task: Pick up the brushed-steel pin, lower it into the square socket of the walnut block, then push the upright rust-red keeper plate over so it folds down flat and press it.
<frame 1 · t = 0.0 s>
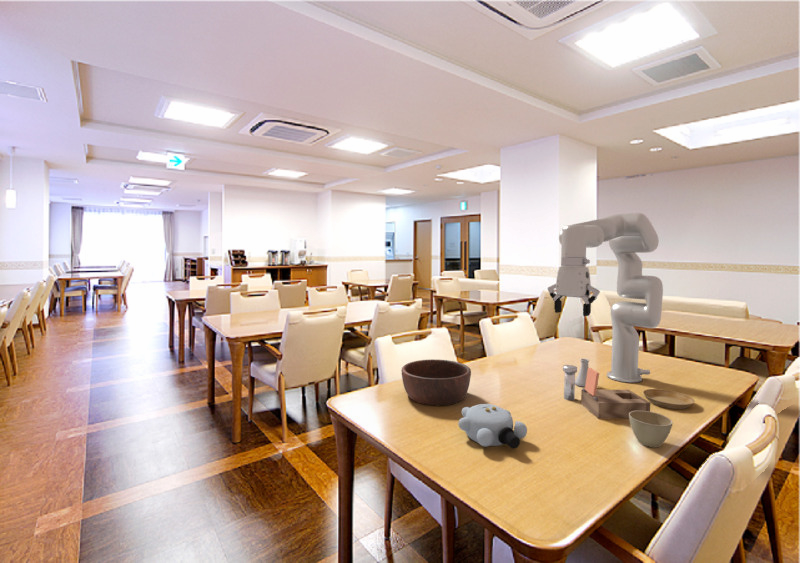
hand: (571, 314, 133), 31 cm above the table, tool pointing down, fingers open, 9 cm apart
block: (613, 410, 130), on the table
figurine: (491, 439, 112), on the table
beige bowl: (649, 443, 108), on the table
plant saucer: (667, 404, 137), on the table
keeper: (591, 381, 129), point 10 cm above the table, hinge at 97.0°
pin: (569, 398, 141), on the table
flask: (584, 385, 156), on the table
wooden bowl: (435, 396, 145), on the table
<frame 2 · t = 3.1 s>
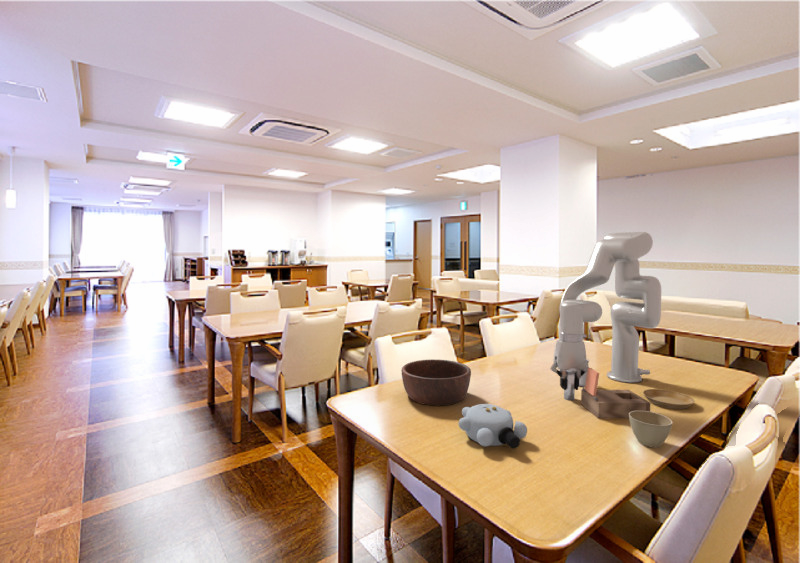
hand: (569, 388, 141), 4 cm above the table, tool pointing down, fingers closed on pin, 3 cm apart
pin: (569, 398, 141), on the table, touching gripper
everything else where it was.
when the fingers open (6 cm above the table, at t = 8.4 s): pin stays where it is, resting on block.
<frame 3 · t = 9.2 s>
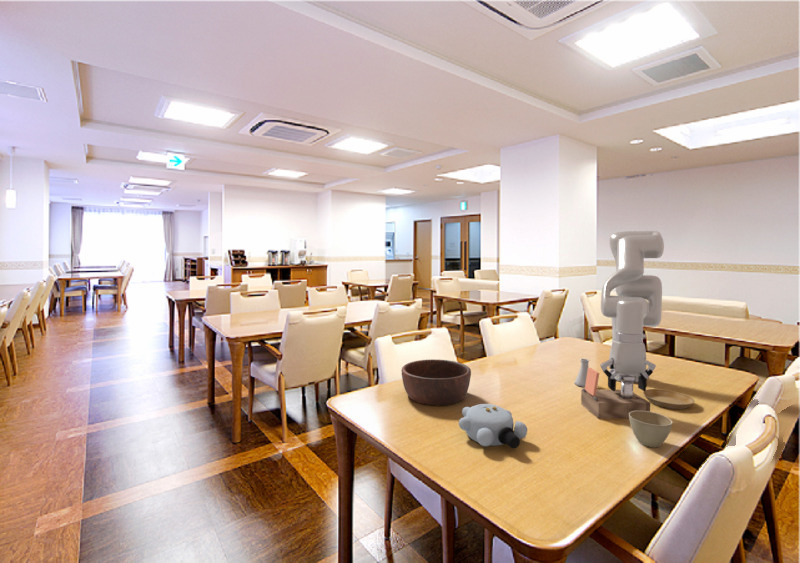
hand: (626, 389, 130), 7 cm above the table, tool pointing down, fingers open, 9 cm apart
pin: (626, 409, 130), resting on block
everything else where it was.
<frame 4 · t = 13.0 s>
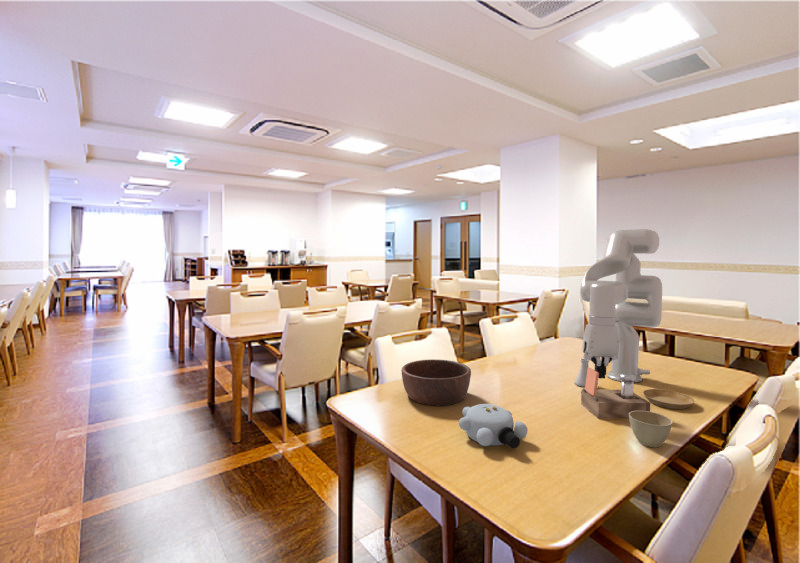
hand: (600, 377, 129), 11 cm above the table, tool pointing down, fingers closed
keeper: (591, 381, 129), point 10 cm above the table, hinge at 96.5°, touching gripper
everything else where it was.
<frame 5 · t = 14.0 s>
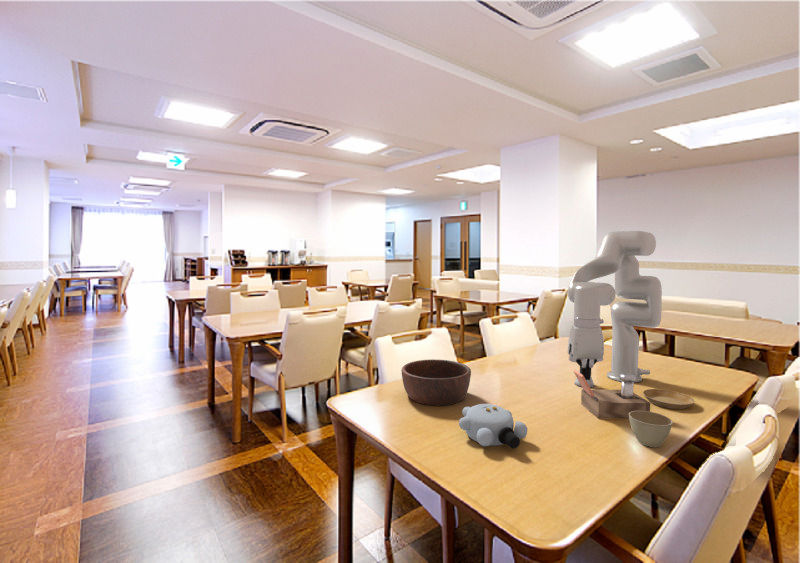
hand: (585, 378, 129), 11 cm above the table, tool pointing down, fingers closed
keeper: (583, 383, 129), point 9 cm above the table, hinge at 60.2°, touching gripper
everything else where it was.
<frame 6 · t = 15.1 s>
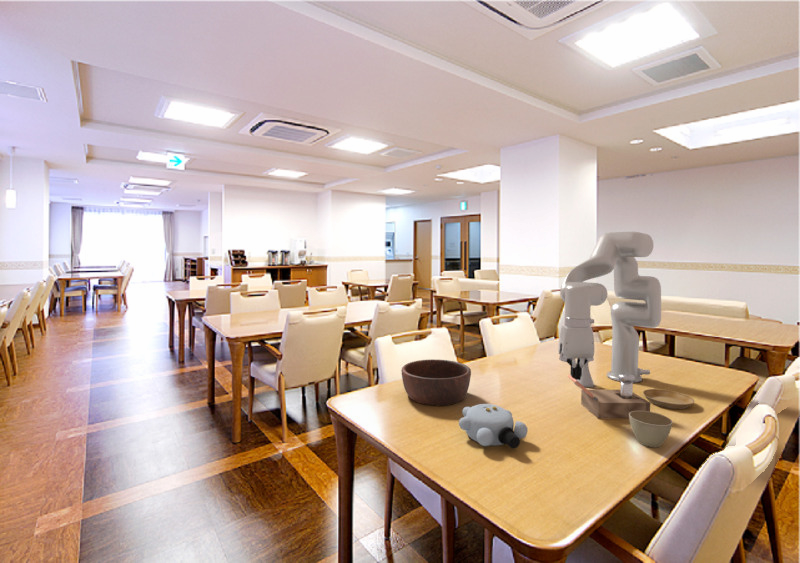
hand: (575, 378, 130), 11 cm above the table, tool pointing down, fingers closed
keeper: (580, 385, 130), point 8 cm above the table, hinge at 41.6°, touching gripper
everything else where it was.
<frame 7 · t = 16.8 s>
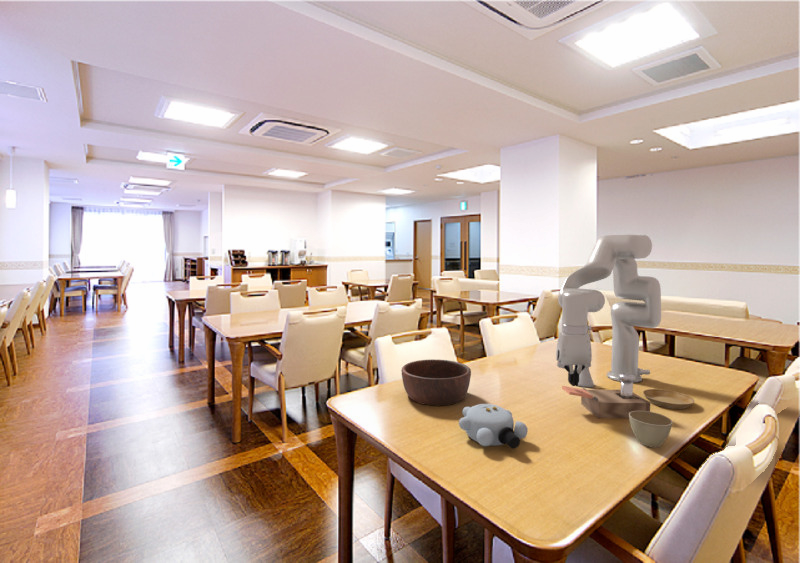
hand: (573, 384, 131), 8 cm above the table, tool pointing down, fingers closed
keeper: (577, 391, 130), point 6 cm above the table, hinge at 10.3°
everything else where it was.
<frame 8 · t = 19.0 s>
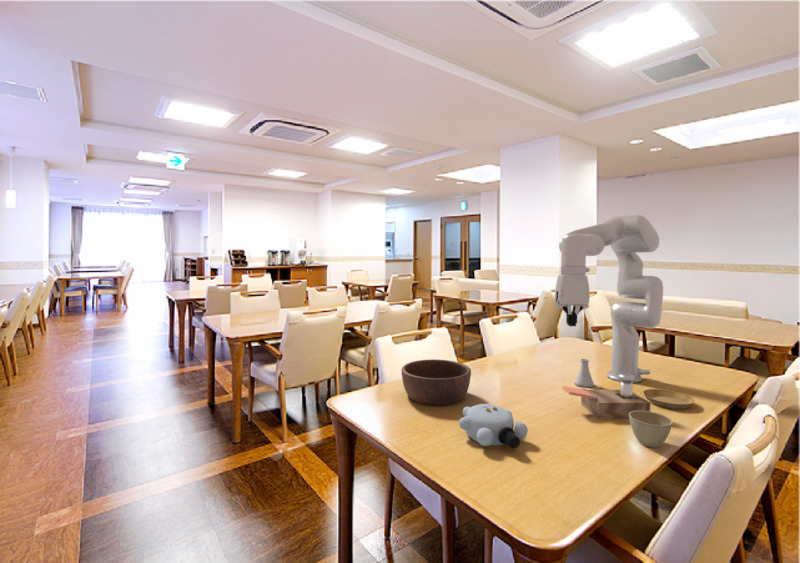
hand: (571, 325, 134), 27 cm above the table, tool pointing down, fingers closed
nothing on the table moved.
at the end: pin 0.1 cm from the target spot on the block, point 0.3 cm above the block's base; pin tilted 1°; keeper at +10° (first picture: +97°) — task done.
